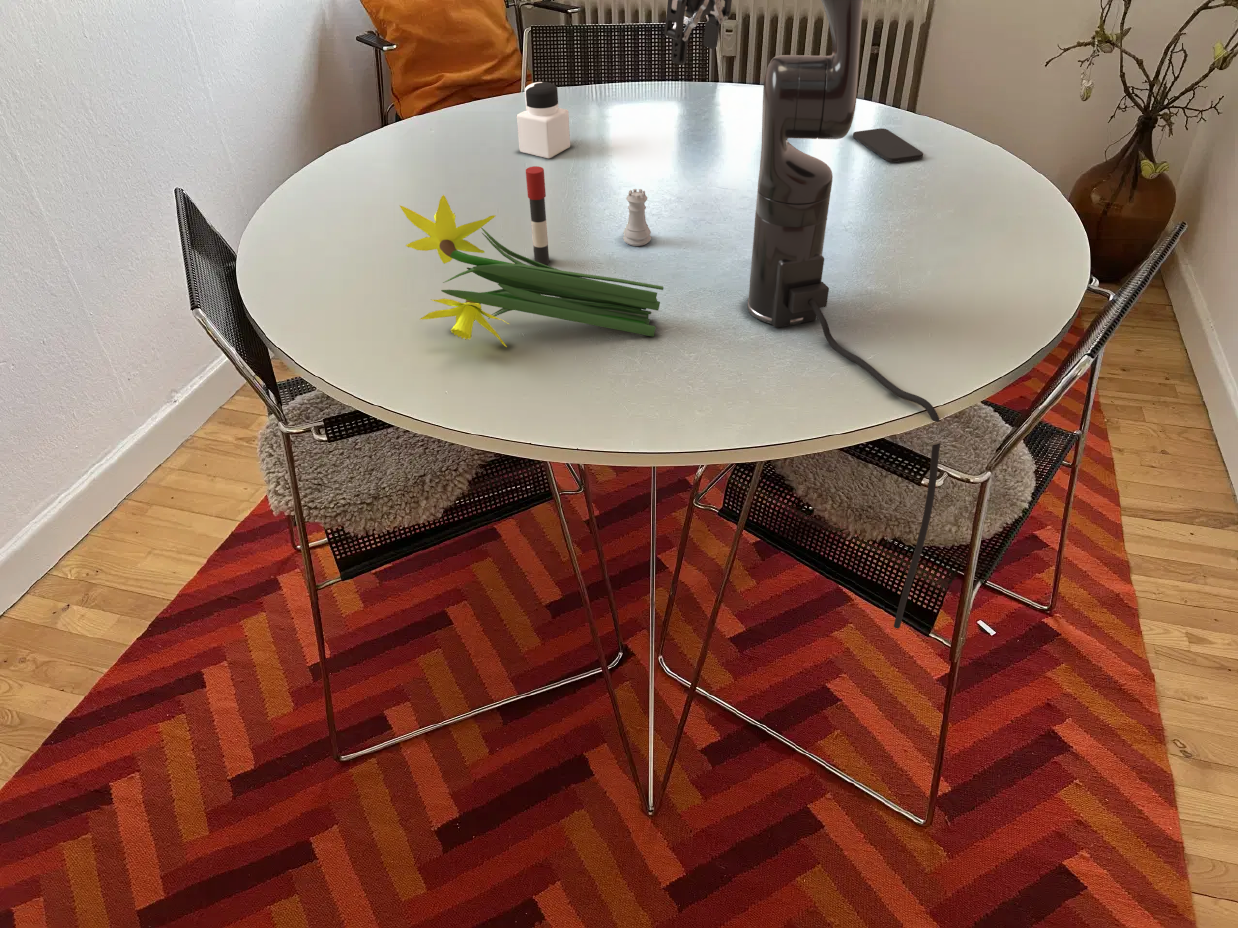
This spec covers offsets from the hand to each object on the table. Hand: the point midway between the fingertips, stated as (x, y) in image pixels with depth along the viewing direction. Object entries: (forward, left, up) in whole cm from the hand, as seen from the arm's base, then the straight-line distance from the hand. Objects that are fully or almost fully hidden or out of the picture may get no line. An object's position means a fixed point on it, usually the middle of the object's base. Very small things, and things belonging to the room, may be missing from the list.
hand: (694, 55), depth 144 cm
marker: (-17, +31, -23) cm, 41 cm away
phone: (+6, -42, -23) cm, 48 cm away
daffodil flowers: (-35, +35, -23) cm, 55 cm away
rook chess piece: (-15, +15, -23) cm, 31 cm away
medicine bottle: (+28, +19, -23) cm, 41 cm away
